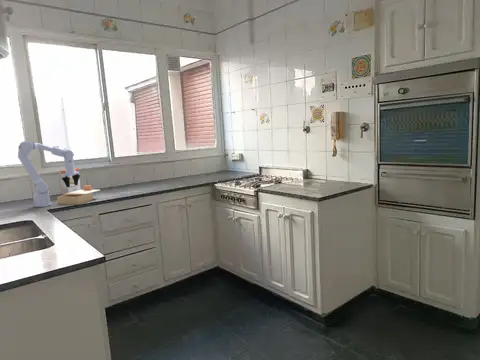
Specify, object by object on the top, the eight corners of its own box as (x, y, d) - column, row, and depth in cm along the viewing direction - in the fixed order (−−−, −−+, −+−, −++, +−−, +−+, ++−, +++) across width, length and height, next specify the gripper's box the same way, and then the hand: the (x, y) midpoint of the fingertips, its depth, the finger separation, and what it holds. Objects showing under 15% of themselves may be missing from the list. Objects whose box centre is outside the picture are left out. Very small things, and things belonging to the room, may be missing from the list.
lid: (65, 194, 234) (64, 188, 234) (80, 190, 248) (79, 185, 247) (86, 194, 229) (85, 188, 229) (100, 190, 243) (99, 184, 242)
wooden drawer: (58, 204, 227) (57, 197, 227) (73, 199, 241) (72, 192, 240) (78, 204, 223) (77, 197, 222) (93, 199, 236) (92, 192, 235)
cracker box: (69, 197, 250) (65, 170, 247) (62, 197, 252) (58, 170, 248) (81, 193, 264) (78, 167, 261) (75, 194, 265) (71, 168, 262)
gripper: (66, 168, 227) (69, 187, 229) (81, 165, 240) (84, 184, 242) (58, 168, 229) (60, 187, 231) (73, 165, 242) (76, 184, 244)
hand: (72, 186), depth 237 cm, fingers open, 7 cm apart
